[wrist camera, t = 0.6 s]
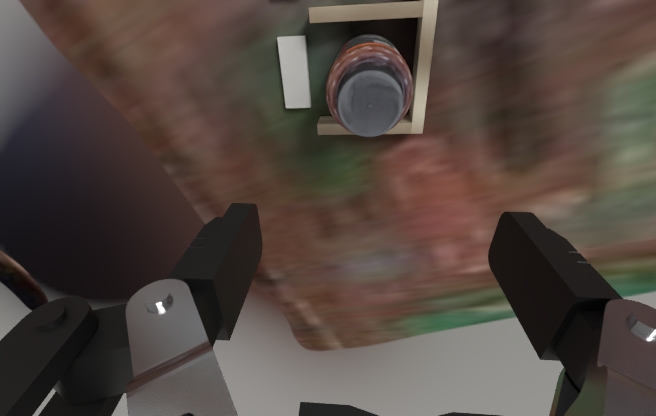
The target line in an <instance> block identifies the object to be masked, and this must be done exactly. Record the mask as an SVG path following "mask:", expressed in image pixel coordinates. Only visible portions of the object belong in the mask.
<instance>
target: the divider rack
mask: <svg viewBox="0 0 656 416" xmlns="http://www.w3.org/2000/svg"><path fill="white" fill-rule="evenodd" d="M437 8H438V0H419V1H407V2H391V3H374V4H357V5H341V6H324V7H311V8H309V19H310V23H322V22H341V21H359V20H377V19H396V18H414V17H418V20H417V31H416V42H415V53H414V64H413V75H412V79H413V97H412V101H411V104H410V107H409V114H406V115H405V116H404V117H403V119H402V120H401V121H400V122H399V123H398V124H397V125H396V126H395V127H394V128H392V129H391V130H389V131H387V132H386V133H384V134H422V133H423V125H424V116H425V108H426V100H427V91H428V83H429V75H430V67H431V58H432V50H433V42H434V33H435V25H436V17H437ZM317 130H318V135H355V134H354V133H351V132H349V131H347V130H345V129H344V128H342V127H341V126H340V125H339V124H338V123H337V122H336V120H335V119H334V118H333V116H320V118H319V121H318V124H317Z"/></svg>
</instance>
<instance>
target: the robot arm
mask: <svg viewBox="0 0 656 416" xmlns="http://www.w3.org/2000/svg"><path fill="white" fill-rule="evenodd" d="M261 254H262V236H261V230H260V223H259V216H258V210H257V206H256V205H255V204H245V203H232V204H231V205H230V207H229V208H228V210H227V211H226V213H225V214H224V216H223V217H216V218H214V219H213V220H212V221H210V222H209V223H207V224H206V225H204V227H203V228H202V229H201V231H200V232H199V234H198V235H197V237H196V239H194V241H193V242H192V243H191V245H190V247H189V248H188V249H187V251H186V252H185V253H184V255H183V256H182V257H181V259H180V260H179V262H178V263H177V264H176V266H175V267H174V269H173V270H172V271H171V273H170V274H169V276H168V277H167V278H166V279H165V280H160V281H157V282H154V283H151V284H149V285H147V286H145V287H143V288H142V289H140V290H139V291H138V292H137V293H135V294H134V295H133V297H132V298H131V299H130V300H129V302H128V303H127V304H122V305H118V306H112V307H107V308H102V309H98V310H92V308H91V306H90V305H89V303H88V302H87V301H86V299H84V298H81V297H74V296H73V297H65V298H61V299H57V300H54V301H51V302H48V303H46V304H44V305H42V306H40V307H38V308H37V309H35V310H34V311H32V312H31V313H29V314H28V315H27V316H25V318H23V319H22V320H21V321H20V322H19V323H18V324H17V325H16V326H15V327H14V328H13V329H12V330H11V331H10V332H9V333H8V334H7V335H6V336H5V337H4V338H3V339H2V340H1V341H0V416H32V415H33V414H34V413H35V411H36V410H37V408H38V407H39V406H40V405H41V403H42V402H43V401H44V399H45V398H46V397H47V395H48V394H49V393H50V391H51V390H52V389H53V388H54V389H55V390H56V392H55V394H54V395H53V397H52V398H51V399H50V401H49V402H48V403H47V405H46V406H45V407H44V409H43V410H42V412H41V413H40V414H39V416H111V415H112V413H113V412H114V410H115V408H116V406H117V404H118V403H119V401H120V399H121V397H122V395H123V393H126V394H127V406H128V416H238V415H237V412H236V410H235V407H234V404H233V401H232V399H231V396H230V394H229V391H228V388H227V386H226V383H225V380H224V378H223V375H222V372H221V370H220V367H219V364H218V362H217V359H216V357H215V354H214V351H213V345H214V343H215V341H216V340H230V338H231V335H232V332H233V330H234V327H235V324H236V322H237V319H238V316H239V314H240V311H241V309H242V306H243V303H244V301H245V298H246V295H247V293H248V290H249V287H250V285H251V282H252V280H253V277H254V274H255V272H256V269H257V267H258V264H259V261H260V259H261ZM488 260H489V266H490V268H491V270H492V272H493V274H494V276H495V278H496V279H497V281H498V283H499V285H500V287H501V289H502V290H503V292H504V294H505V296H506V298H507V300H508V302H509V303H510V305H511V307H512V309H513V311H514V313H515V314H516V316H517V318H518V320H519V322H520V323H521V325H522V327H523V329H524V331H525V333H526V335H527V336H528V338H529V340H530V342H531V344H532V346H533V347H534V349H535V351H536V352H537V355H538V357H539V358H540V359H541V360H559V361H561V363H562V365H563V366H564V368H563V370H562V371H561V373H560V375H559V378H558V382H557V386H556V390H555V394H554V398H553V402H552V406H551V410H550V414H549V416H656V309H654V308H652V307H650V306H648V305H645V304H642V303H639V302H635V301H632V300H626V299H623V298H622V297H621V296H620V295H619V294H618V293H617V292H616V291H615V290H614V289H613V288H612V287H611V286H610V285H609V284H608V282H607V281H606V280H605V279H604V278H603V277H602V276H601V275H600V274H599V273H598V272H597V271H596V270H595V269H594V268H593V267H592V266H591V265H590V264H587V260H586V259H585V258H584V257H583V256H582V255H581V254H580V253H577V250H576V249H575V248H574V247H573V246H572V245H571V244H570V243H569V242H568V241H567V240H566V239H565V238H564V237H562V236H560V235H559V234H557V233H556V232H554V231H552V230H551V229H547V228H546V227H545V226H544V225H543V223H542V222H541V221H540V220H539V219H538V218H537V217H536V216H535V215H534V214H533V213H530V212H504V213H503V214H502V215H501V217H500V219H499V222H498V225H497V228H496V231H495V234H494V237H493V240H492V243H491V246H490V249H489V253H488ZM299 416H378V415H375V414H372V413H369V412H367V411H364V410H361V409H358V408H356V407H353V406H350V405H337V404H323V403H309V402H301V403H300V410H299ZM440 416H498V415H484V414H469V413H455V412H452V413H448V414H444V415H440Z"/></svg>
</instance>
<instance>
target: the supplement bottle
mask: <svg viewBox="0 0 656 416" xmlns="http://www.w3.org/2000/svg"><path fill="white" fill-rule="evenodd" d="M412 97H413V79H412V75H411V72H410V70H409V67H408V65H407V64H406V62H405V60H404V59H403V58H402V56H401V55H400V53H399V52H398V51H397V49H396V48H395V46H394V45H393V44H392V43H391V42H390V41H389V40H387V39H386V38H384V37H382V36H380V35H376V34H363V35H359V36H356V37H354V38H352V39H351V40H350V41H348V42H347V43H346V44H345V45H344V46H343V47H342V48H341V49H340V51H339V52H338V54H337V56H336V59H335V61H334V64H333V66H332V68H331V70H330V73H329V76H328V80H327V84H326V100H327V104H328V108H329V111H330V113H331V114H332V116H333V118H334V119H335V120H336V122H337V123H338V124H339V125H340V126H341V127H342V128H344V129H345V130H347V131H349V132H351V133H354V134H356V135H359V136H363V137H375V136H379V135H382V134H384V133H386V132H387V131H389V130H391V129H392V128H394V127H395V126H396V125H397V124H398V123H399V122H400V121H401V120H402V119H403V117H404V116H405V115H406V113H407V111H408V109H409V107H410V104H411V101H412Z"/></svg>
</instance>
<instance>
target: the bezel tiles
mask: <svg viewBox="0 0 656 416" xmlns="http://www.w3.org/2000/svg"><path fill="white" fill-rule="evenodd" d="M277 41H278V49H279V57H280V65H281V73H282V81H283V89H284V97H285V105H286V108H311V93H310V81H309V68H308V56H307V43H306V35H302V36H282V37H277Z"/></svg>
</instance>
